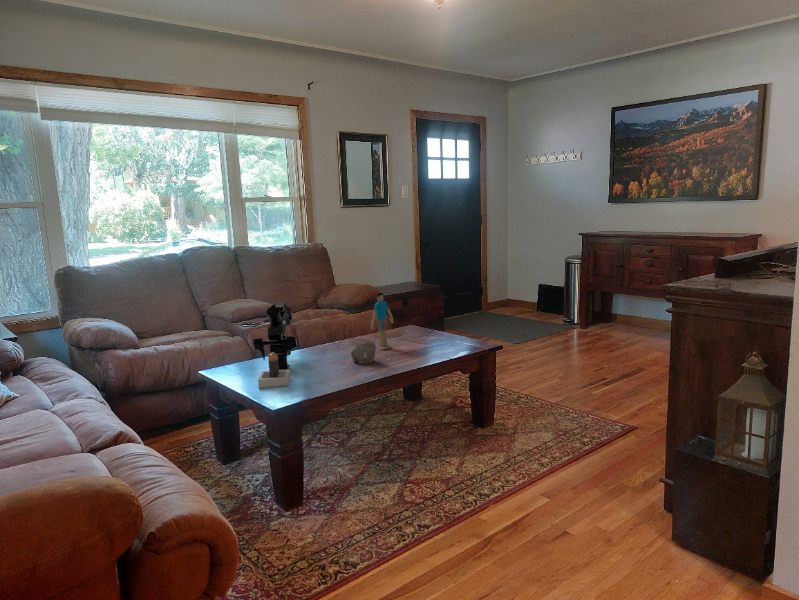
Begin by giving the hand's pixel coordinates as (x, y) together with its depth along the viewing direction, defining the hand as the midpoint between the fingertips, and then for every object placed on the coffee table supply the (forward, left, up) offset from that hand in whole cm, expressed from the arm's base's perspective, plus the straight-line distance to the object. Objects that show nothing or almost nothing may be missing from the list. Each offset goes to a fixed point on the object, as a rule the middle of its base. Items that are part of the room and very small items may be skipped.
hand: (274, 359), depth 238 cm
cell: (+5, 0, -9) cm, 10 cm away
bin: (+5, 0, -10) cm, 11 cm away
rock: (-19, +40, -10) cm, 46 cm away
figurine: (-43, +51, -10) cm, 68 cm away
